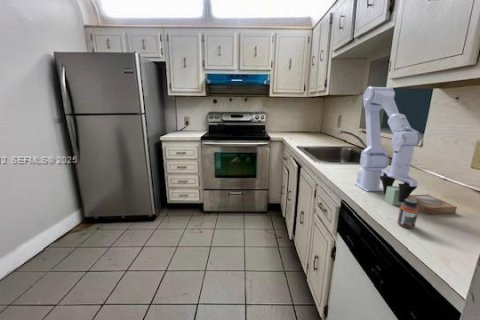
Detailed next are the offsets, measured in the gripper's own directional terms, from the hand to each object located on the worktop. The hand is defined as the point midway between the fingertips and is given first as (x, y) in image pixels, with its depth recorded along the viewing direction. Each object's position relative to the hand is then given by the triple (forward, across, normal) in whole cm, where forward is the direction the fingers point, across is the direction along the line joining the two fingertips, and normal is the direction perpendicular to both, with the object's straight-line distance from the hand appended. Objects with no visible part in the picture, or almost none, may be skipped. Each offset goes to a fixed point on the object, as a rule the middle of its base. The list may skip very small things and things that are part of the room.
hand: (394, 197), depth 87 cm
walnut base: (+2, +4, +10) cm, 11 cm away
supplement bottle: (+2, +16, -9) cm, 19 cm away
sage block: (+2, 0, 0) cm, 2 cm away
